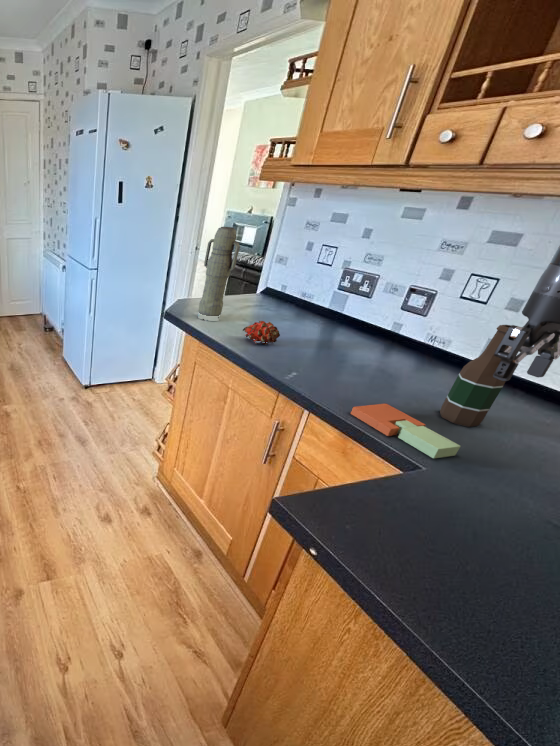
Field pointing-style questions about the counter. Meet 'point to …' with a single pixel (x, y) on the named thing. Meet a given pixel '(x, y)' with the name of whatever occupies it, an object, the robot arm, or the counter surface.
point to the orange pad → (383, 417)
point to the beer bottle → (475, 386)
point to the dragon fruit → (262, 332)
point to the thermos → (218, 270)
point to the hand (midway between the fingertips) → (517, 377)
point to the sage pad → (426, 440)
